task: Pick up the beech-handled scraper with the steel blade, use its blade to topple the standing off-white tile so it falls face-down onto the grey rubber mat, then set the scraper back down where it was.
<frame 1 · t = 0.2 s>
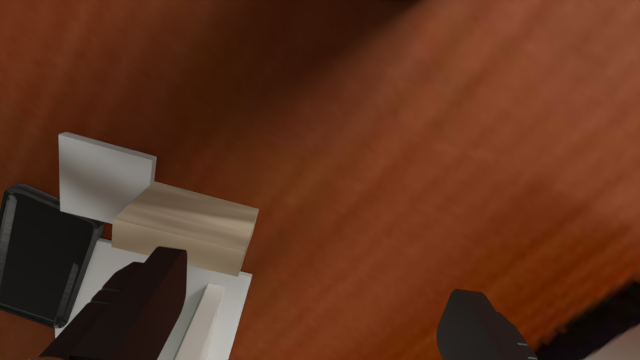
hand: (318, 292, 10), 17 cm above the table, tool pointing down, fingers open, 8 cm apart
tile: (206, 328, 34), resting on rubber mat
phone 2: (49, 257, 31), on the table
scraper: (152, 193, 28), on the table
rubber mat: (149, 312, 33), on the table
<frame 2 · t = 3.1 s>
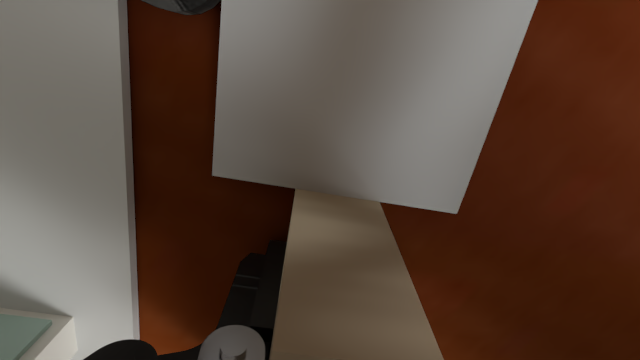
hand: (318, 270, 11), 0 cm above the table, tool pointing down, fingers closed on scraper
scraper: (336, 184, 10), on the table, touching gripper
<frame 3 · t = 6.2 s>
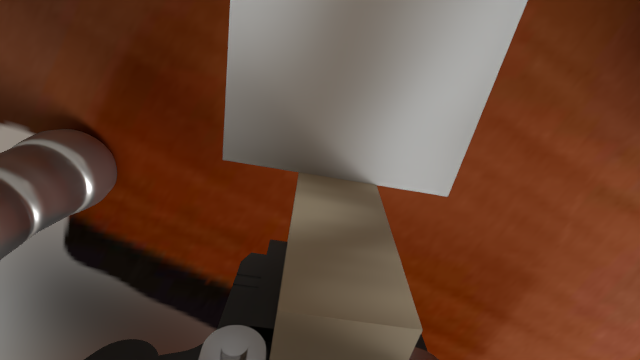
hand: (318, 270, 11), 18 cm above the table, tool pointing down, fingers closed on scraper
scraper: (337, 167, 11), point 16 cm above the table, touching gripper
plastic bottle: (90, 159, 28), on the table
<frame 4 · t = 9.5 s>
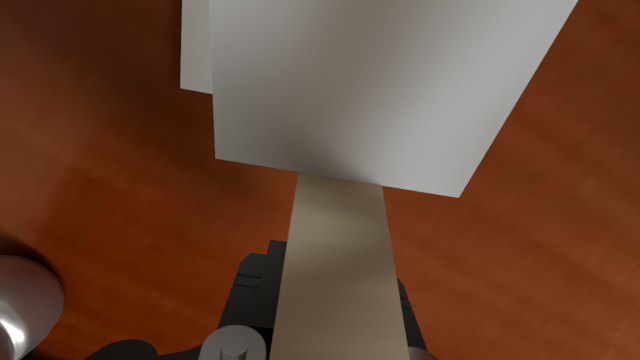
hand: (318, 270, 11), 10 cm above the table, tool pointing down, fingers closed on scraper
scraper: (340, 161, 10), point 9 cm above the table, tilted 18°, touching gripper
plastic bottle: (31, 279, 23), on the table
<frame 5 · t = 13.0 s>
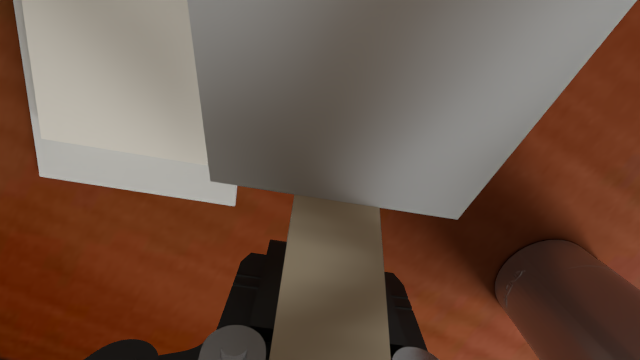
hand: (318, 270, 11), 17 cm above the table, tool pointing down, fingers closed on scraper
tile: (131, 149, 25), point 1 cm above the table, tilted 90°, touching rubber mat
scraper: (338, 180, 10), point 17 cm above the table, tilted 26°, touching gripper
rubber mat: (138, 82, 25), on the table
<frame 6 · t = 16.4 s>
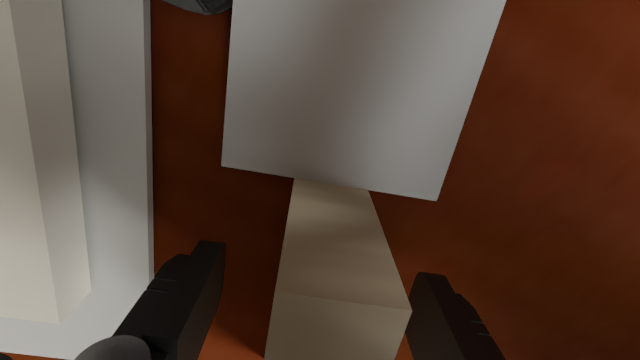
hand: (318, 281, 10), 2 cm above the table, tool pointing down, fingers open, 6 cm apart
scraper: (330, 175, 11), on the table
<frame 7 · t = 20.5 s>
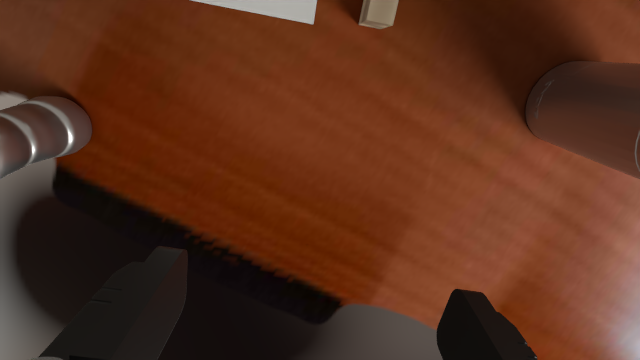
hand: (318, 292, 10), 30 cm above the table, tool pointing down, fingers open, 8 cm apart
plastic bottle: (72, 121, 38), on the table
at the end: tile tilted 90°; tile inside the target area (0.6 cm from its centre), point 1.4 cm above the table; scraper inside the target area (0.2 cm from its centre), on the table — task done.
